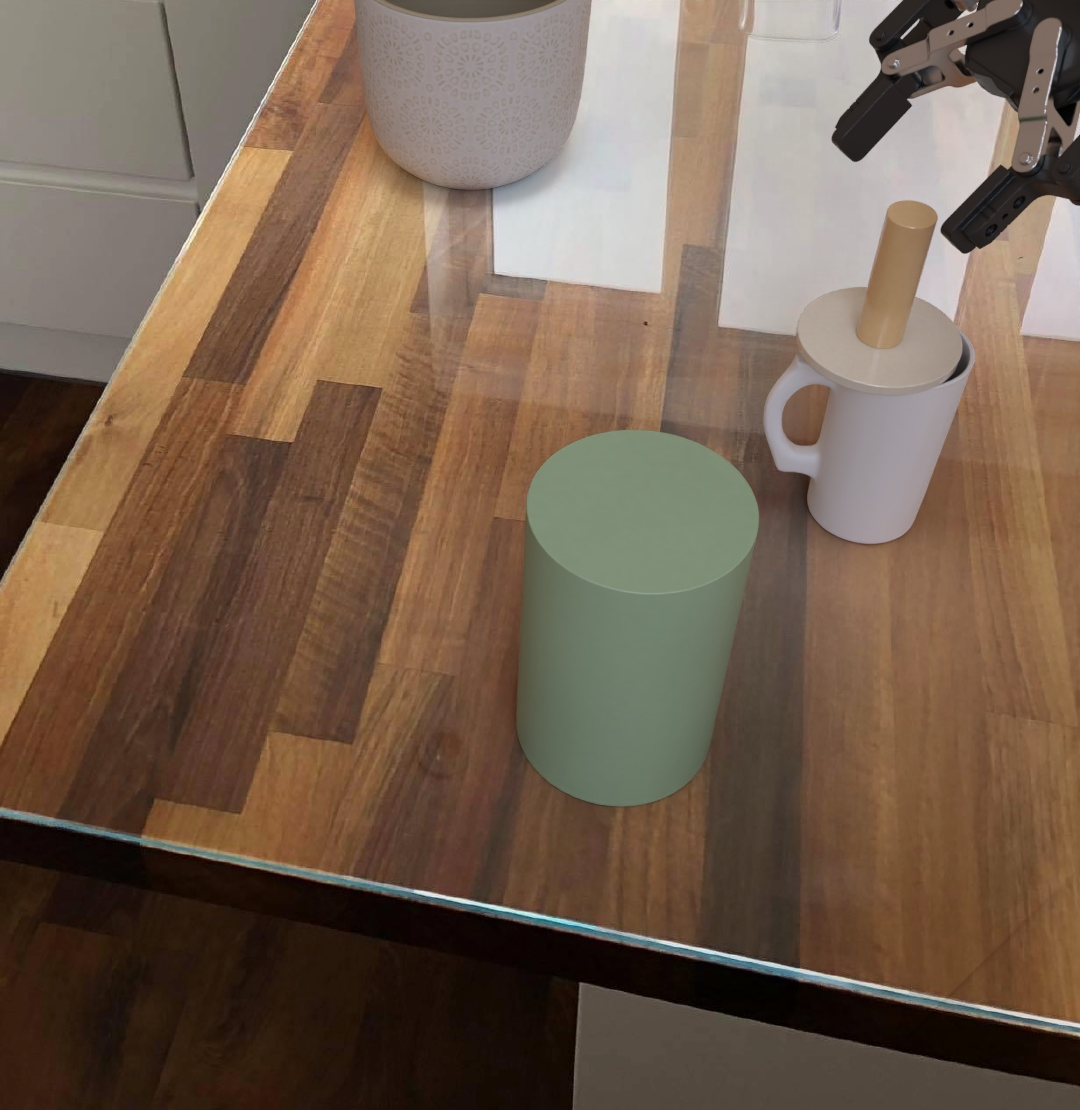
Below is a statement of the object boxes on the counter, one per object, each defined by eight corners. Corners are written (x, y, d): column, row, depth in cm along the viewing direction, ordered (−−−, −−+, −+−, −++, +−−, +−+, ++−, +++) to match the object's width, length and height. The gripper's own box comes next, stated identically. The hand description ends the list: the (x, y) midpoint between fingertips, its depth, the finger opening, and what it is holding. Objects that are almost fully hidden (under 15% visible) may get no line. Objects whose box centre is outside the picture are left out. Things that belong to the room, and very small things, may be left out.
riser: (751, 733, 72) (808, 515, 60) (611, 843, 67) (643, 632, 56) (613, 619, 77) (640, 399, 65) (476, 714, 73) (478, 497, 61)
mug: (913, 471, 84) (966, 311, 75) (926, 553, 80) (983, 392, 71) (743, 459, 85) (775, 300, 76) (746, 539, 81) (781, 379, 72)
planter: (551, 88, 116) (561, -99, 105) (606, 202, 104) (623, 5, 93) (349, 112, 114) (336, -75, 103) (381, 230, 103) (371, 33, 92)
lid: (993, 348, 73) (1039, 217, 67) (891, 418, 70) (930, 287, 64) (864, 276, 78) (896, 148, 72) (762, 338, 74) (787, 209, 68)
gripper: (1033, -205, 63) (772, 88, 68) (1283, -85, 54) (959, 242, 59) (1089, -106, 68) (842, 159, 73) (1325, 19, 59) (1024, 310, 64)
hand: (895, 196), depth 66 cm, fingers open, 8 cm apart
